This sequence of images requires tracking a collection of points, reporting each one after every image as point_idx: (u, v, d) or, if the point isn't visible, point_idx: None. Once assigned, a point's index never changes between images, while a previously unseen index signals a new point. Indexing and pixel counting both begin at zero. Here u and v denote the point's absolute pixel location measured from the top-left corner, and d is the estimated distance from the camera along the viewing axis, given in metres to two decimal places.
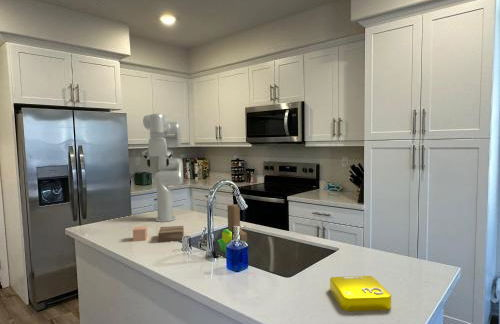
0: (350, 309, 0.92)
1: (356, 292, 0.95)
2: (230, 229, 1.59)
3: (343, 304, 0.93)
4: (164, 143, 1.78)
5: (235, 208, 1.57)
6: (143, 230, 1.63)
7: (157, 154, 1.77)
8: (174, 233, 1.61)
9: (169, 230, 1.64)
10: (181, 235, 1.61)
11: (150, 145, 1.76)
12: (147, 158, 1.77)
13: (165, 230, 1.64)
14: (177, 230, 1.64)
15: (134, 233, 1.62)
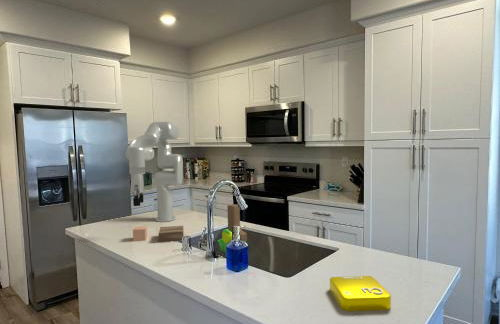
0: (350, 309, 0.92)
1: (356, 292, 0.95)
2: (230, 229, 1.59)
3: (342, 304, 0.93)
4: None
5: (235, 208, 1.57)
6: (143, 230, 1.63)
7: (142, 190, 1.64)
8: (174, 233, 1.61)
9: (169, 230, 1.64)
10: (181, 235, 1.61)
11: (141, 181, 1.60)
12: (139, 196, 1.59)
13: (165, 230, 1.64)
14: (177, 230, 1.64)
15: (134, 233, 1.62)
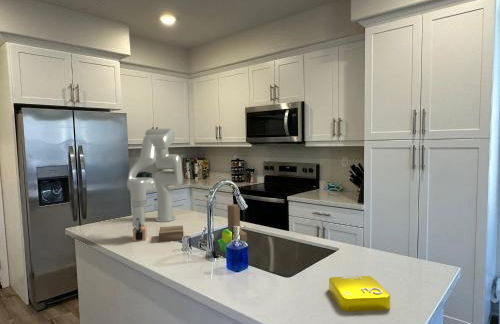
0: (349, 309, 0.92)
1: (355, 292, 0.95)
2: (230, 229, 1.59)
3: (342, 304, 0.93)
4: None
5: (235, 208, 1.57)
6: (143, 230, 1.63)
7: (143, 222, 1.65)
8: (174, 233, 1.61)
9: (169, 230, 1.64)
10: (182, 235, 1.62)
11: (142, 214, 1.62)
12: (141, 230, 1.62)
13: (165, 230, 1.64)
14: (177, 230, 1.64)
15: (134, 233, 1.62)
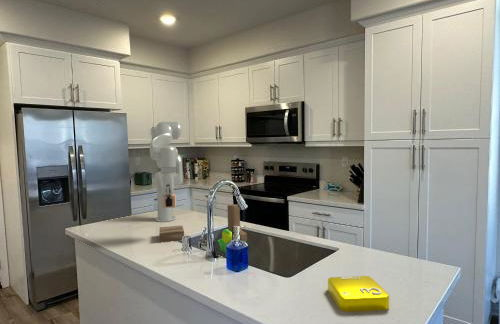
0: (348, 309, 0.92)
1: (354, 292, 0.95)
2: (230, 229, 1.59)
3: (341, 305, 0.93)
4: None
5: (235, 208, 1.57)
6: (173, 197, 1.62)
7: (173, 189, 1.65)
8: (175, 233, 1.61)
9: (169, 230, 1.64)
10: (182, 235, 1.62)
11: (172, 181, 1.61)
12: (171, 197, 1.61)
13: (165, 230, 1.64)
14: (178, 230, 1.64)
15: (164, 200, 1.62)
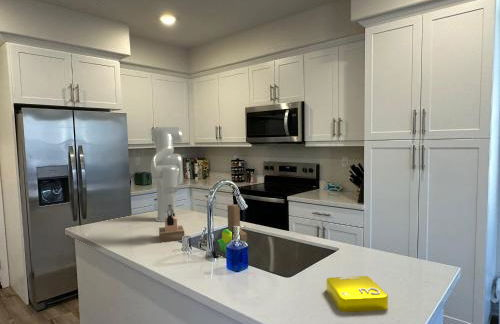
0: (347, 310, 0.92)
1: (353, 293, 0.95)
2: (230, 229, 1.59)
3: (340, 305, 0.93)
4: None
5: (235, 208, 1.57)
6: (175, 220, 1.63)
7: None
8: (175, 233, 1.61)
9: None
10: (183, 234, 1.62)
11: (174, 201, 1.62)
12: (172, 216, 1.60)
13: None
14: (178, 230, 1.64)
15: (166, 223, 1.63)
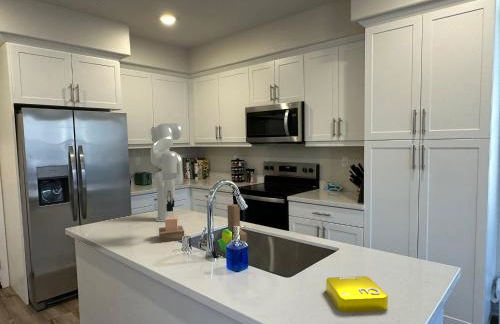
0: (347, 310, 0.92)
1: (353, 293, 0.95)
2: (230, 229, 1.59)
3: (339, 305, 0.93)
4: None
5: (235, 208, 1.57)
6: (175, 220, 1.63)
7: (174, 195, 1.65)
8: (175, 233, 1.61)
9: None
10: (182, 235, 1.62)
11: (173, 187, 1.62)
12: (172, 202, 1.60)
13: None
14: (178, 230, 1.64)
15: (166, 223, 1.63)
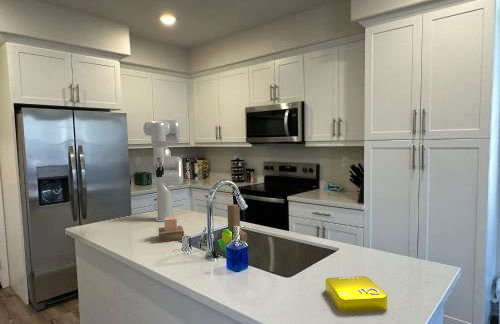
0: (346, 310, 0.92)
1: (352, 293, 0.95)
2: (230, 229, 1.59)
3: (339, 305, 0.93)
4: None
5: (235, 208, 1.57)
6: (174, 220, 1.63)
7: (163, 163, 1.75)
8: (175, 233, 1.61)
9: None
10: (182, 235, 1.62)
11: (162, 154, 1.71)
12: (161, 168, 1.70)
13: None
14: (177, 230, 1.64)
15: (165, 223, 1.62)
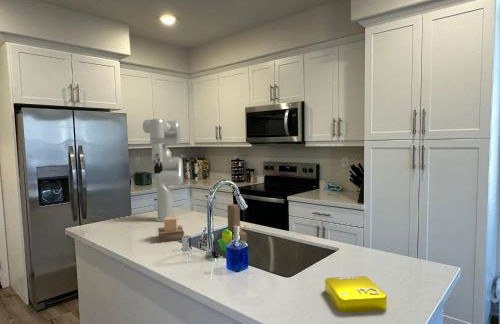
0: (346, 310, 0.92)
1: (352, 293, 0.95)
2: (230, 229, 1.59)
3: (339, 305, 0.93)
4: None
5: (235, 208, 1.57)
6: (174, 220, 1.63)
7: (161, 159, 1.76)
8: (175, 233, 1.61)
9: None
10: (182, 235, 1.62)
11: (161, 151, 1.73)
12: (159, 164, 1.71)
13: None
14: (177, 230, 1.64)
15: (165, 223, 1.62)
